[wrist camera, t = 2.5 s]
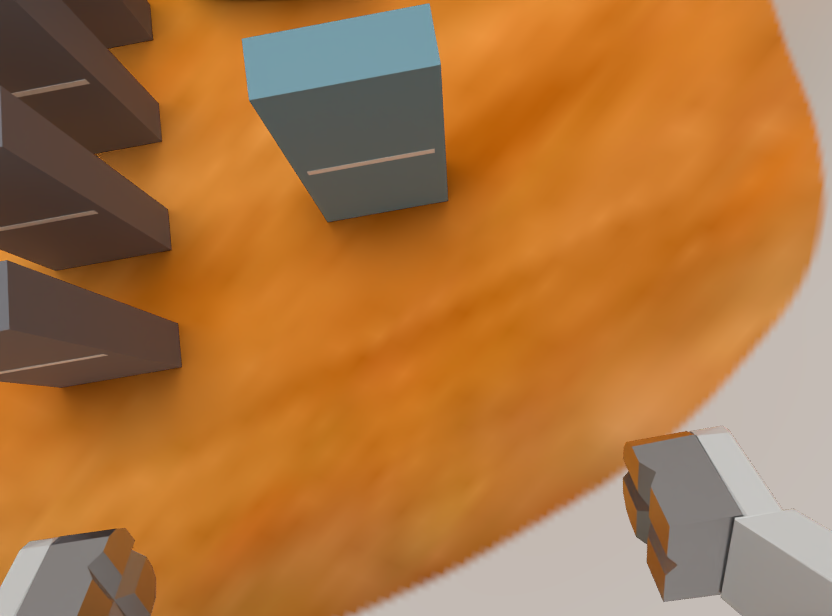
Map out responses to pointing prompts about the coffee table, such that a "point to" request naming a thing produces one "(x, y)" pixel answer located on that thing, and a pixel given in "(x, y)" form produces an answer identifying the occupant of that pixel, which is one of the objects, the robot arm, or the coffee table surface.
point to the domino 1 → (115, 20)
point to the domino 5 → (356, 109)
